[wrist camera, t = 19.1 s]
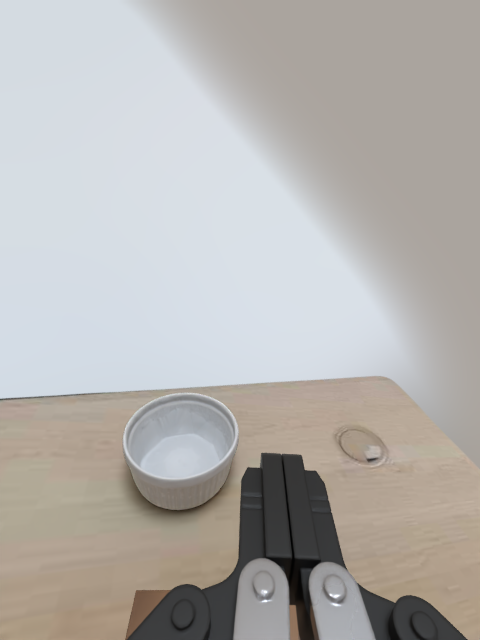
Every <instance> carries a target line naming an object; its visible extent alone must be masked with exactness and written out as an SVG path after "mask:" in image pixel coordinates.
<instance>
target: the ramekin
mask: <svg viewBox="0 0 480 640" xmlns="http://www.w3.org/2000/svg"><path fill="white" fill-rule="evenodd" d="M238 440H239V430H238V425H237V421H236V419H235V417H234V415H233V414H232V412H231V411H230V410H229V409H228V408H227V407H226V406H225V405H224V404H223V403H221V402H220V401H218V400H216V399H214V398H212V397H209V396H206V395H202V394H196V393H176V394H170V395H166V396H162V397H160V398H157V399H155V400H153V401H151V402H149V403H147V404H145V405H144V406H142V407H141V408H140V409H139V410H138V411H136V412H135V414H134V415H133V416H132V417H131V418H130V420H129V421H128V423H127V425H126V427H125V430H124V433H123V453H124V457H125V460H126V463H127V465H128V466H129V468H130V470H131V473H132V476H133V479H134V482H135V484H136V486H137V488H138V490H139V491H140V492H141V494H142V495H143V496H144V497H145V498H146V499H147V500H148V501H150V502H151V503H152V504H155V505H156V506H158V507H162V508H164V509H170V510H182V509H189V508H193V507H196V506H199V505H201V504H203V503H205V502H206V501H208V500H209V499H210V498H212V497H213V496H214V495H215V494H216V493H217V492H218V491H219V490H220V488H221V487H222V486H223V484H224V482H225V481H226V479H227V476H228V474H229V471H230V467H231V463H232V459H233V457H234V455H235V453H236V450H237V446H238Z"/></svg>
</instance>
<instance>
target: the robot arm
mask: <svg viewBox="0 0 480 640" xmlns="http://www.w3.org/2000/svg"><path fill="white" fill-rule="evenodd" d="M289 605H296V614H297V623H298V640H467V639H466V638H465V637H464V636H463V635H462V634H461V633H460V632H459V631H458V630H457V629H456V628H455V627H454V626H453V625H452V624H451V623H450V622H449V621H448V620H447V619H446V618H445V617H444V616H443V615H442V614H441V613H440V612H438V611H437V610H436V609H435V608H434V607H433V606H432V605H431V604H429V603H428V602H427V601H425V600H423V599H421V598H419V597H416V596H411V595H407V596H403V597H401V598H399V599H398V600H397V601H396V603H394V602H392V601H389V600H387V599H385V598H383V597H380V596H378V595H376V594H373V593H371V592H369V591H367V590H366V589H364V588H363V587H361V586H360V585H359V584H358V583H357V582H356V581H355V579H354V578H353V576H352V575H351V574H350V573H349V572H348V570H347V568H346V566H345V564H344V561H343V557H342V553H341V549H340V545H339V541H338V537H337V532H336V528H335V524H334V520H333V516H332V513H331V508H330V504H329V501H328V495H327V491H326V487H325V483H324V482H323V481H322V479H321V478H320V476H319V475H318V473H317V472H316V471H307V470H304V464H303V459H302V456H301V455H295V454H282V455H281V454H276V453H261V463H260V468H249V467H248V468H247V470H246V472H245V474H244V476H243V478H242V481H241V502H240V530H239V559H238V563H237V565H236V567H235V569H234V571H233V572H232V574H231V575H230V576H229V577H228V578H227V579H226V580H224V581H223V582H221V583H219V584H216V585H213V586H211V587H208V588H205V589H202V590H201V589H200V588H198V587H197V586H194V585H190V584H184V585H180V586H177V587H175V588H174V589H172V590H171V591H170V592H169V593H167V594H166V596H165V597H164V598H163V599H162V600H161V601H160V602H159V603H158V605H157V606H156V607H155V608H154V609H153V610H152V611H151V613H150V614H149V615H148V616H147V617H146V618H145V619H144V620H143V622H142V623H141V624H140V625H139V626H138V627H137V628H136V629H135V631H134V632H133V633H132V634H131V635H130V636H129V637H128V639H127V640H290V609H289Z"/></svg>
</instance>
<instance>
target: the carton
mask: <svg viewBox="0 0 480 640" xmlns="http://www.w3.org/2000/svg"><path fill="white" fill-rule="evenodd" d="M170 591H171V590H136V593H135V598H134V602H133V607H132V612H131V616H130V621H129V625H128V630H127V634H126V639H125V640H127V639H128V637H129V636H130V635H131V634H132V633H133V632H134V631H135V629H136V628H137V627H138V626H139V625H140V624H141V623H142V622H143V620H144V619H145V618H146V617H147V616H148V615H149V614H150V613H151V611H152V610H153V609H154V608H155V607H156V606H157V605H158V603H159V602H160V601H161V600H162V599H163V598H164V597H165V596H166V594H167V593H169V592H170ZM289 609H290V640H298V623H297V614H296V605H289Z"/></svg>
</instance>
